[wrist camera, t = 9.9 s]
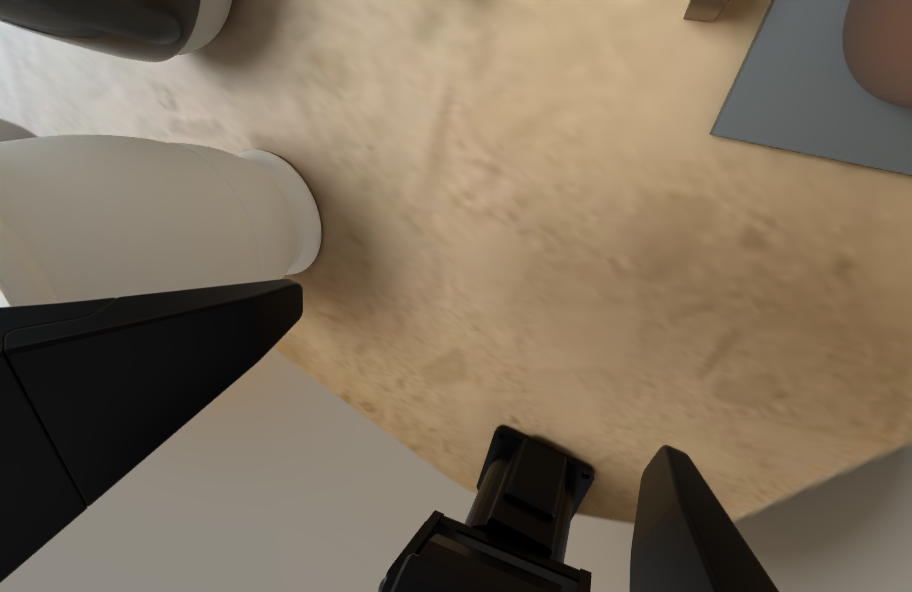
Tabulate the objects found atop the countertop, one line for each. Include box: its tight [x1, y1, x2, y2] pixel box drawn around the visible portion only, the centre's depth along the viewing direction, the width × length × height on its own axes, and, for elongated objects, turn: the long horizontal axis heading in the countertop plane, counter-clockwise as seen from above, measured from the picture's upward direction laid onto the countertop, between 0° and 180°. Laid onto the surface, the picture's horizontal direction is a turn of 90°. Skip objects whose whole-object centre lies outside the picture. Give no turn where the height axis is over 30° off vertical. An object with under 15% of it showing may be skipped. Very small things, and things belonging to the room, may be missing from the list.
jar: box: [0, 135, 321, 307], centre depth 20 cm, size 11×10×15 cm
